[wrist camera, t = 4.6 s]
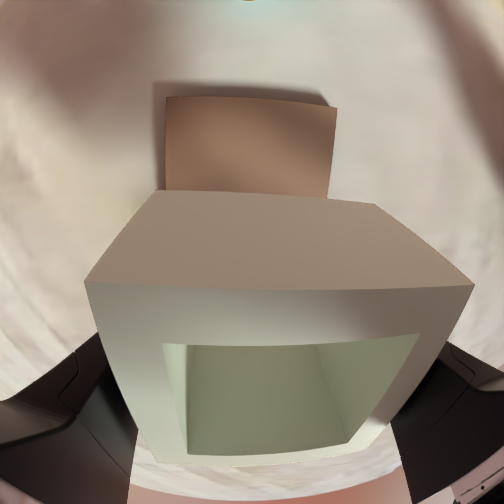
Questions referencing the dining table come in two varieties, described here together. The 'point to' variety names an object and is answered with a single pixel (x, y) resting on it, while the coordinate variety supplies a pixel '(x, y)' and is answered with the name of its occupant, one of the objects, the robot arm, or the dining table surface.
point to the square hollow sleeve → (268, 324)
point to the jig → (248, 145)
